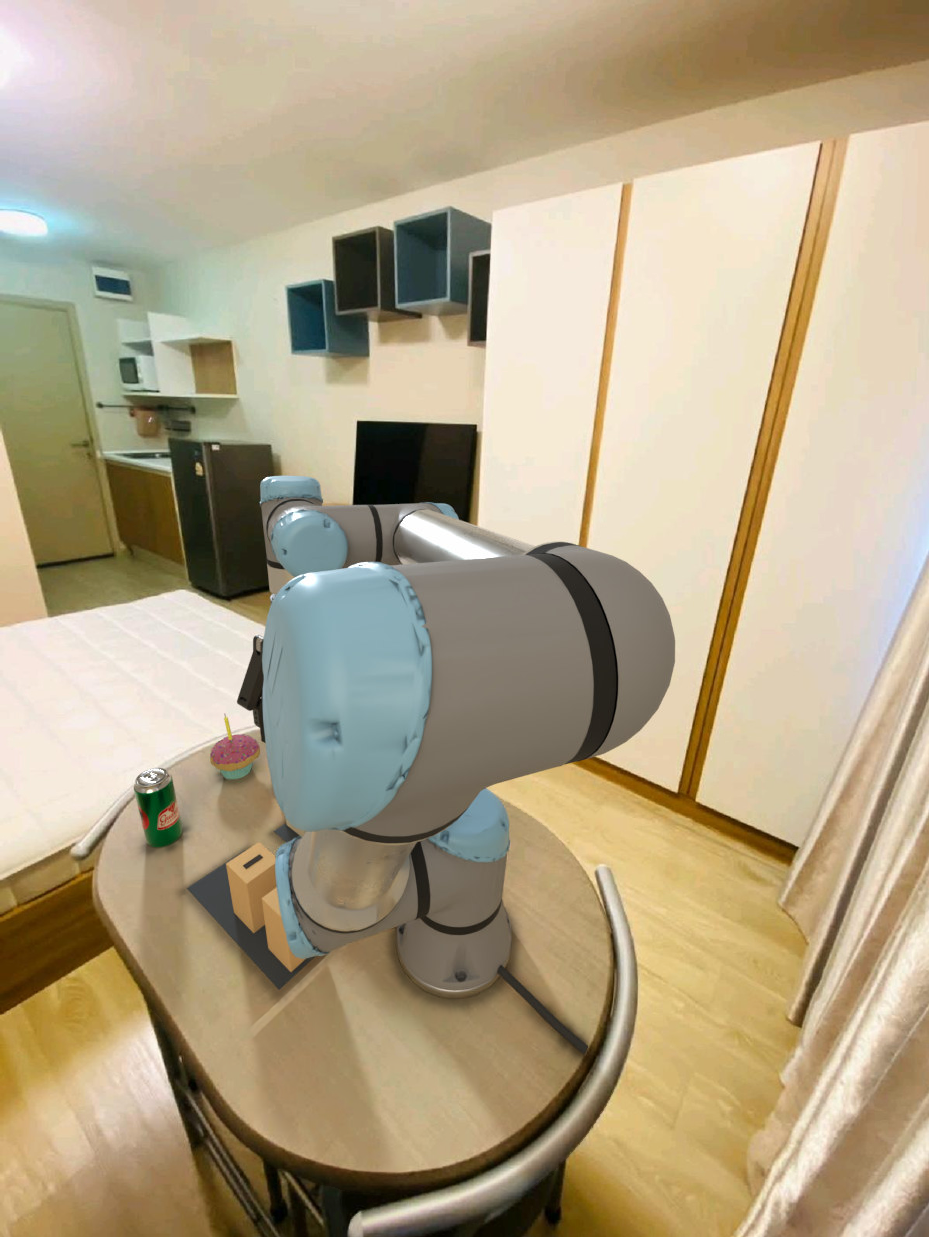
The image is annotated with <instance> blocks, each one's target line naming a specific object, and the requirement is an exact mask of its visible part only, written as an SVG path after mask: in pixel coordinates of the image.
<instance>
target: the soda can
mask: <svg viewBox="0 0 929 1237" xmlns="http://www.w3.org/2000/svg"><path fill="white" fill-rule="evenodd" d="M133 792H134V796H135V801H136V805H137V808H138V812H139V818H140V821H141V826H142V829H143V834H144V838H145V842H146V844H147V845H148V846H149V847H152V848H157V849H159V848H165V847H169V846H170V845H172V844H174V843H175V842H176V841H177V840H179V838H180V837H181V836H182V833H183V824H182V819H181V814H180V810H179V805H178V799H177V795H176V789H175V785H174V780H173V776H172V774H171V773H170V772H169V771H168V769H166V768H164V767H153V768H149V769H147V770H144V771H142V772H141V773H139V774H138V775H137V776H136V778H135V780H134V785H133Z"/></svg>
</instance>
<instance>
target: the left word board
mask: <svg viewBox="0 0 929 1237" xmlns="http://www.w3.org/2000/svg"><path fill="white" fill-rule="evenodd" d="M275 860H276V854H274V853H272V852H271V851H270V850H269V849H268V848H267V847H266V846H264V845H263V844H262V843H261V841H258V842H257V843H255V844H253V845H252V846H250V847H249V848H247V849H246V850H245V849H244V850H243V851H241V852H240V853H238V854H236V855H235V856H233V857H232V858H230V859H229V860H227V861H226V862H224V863H223V864H221V865H220V866H218V867H217V868H215V869H214V870H212V871H211V872H209V873H208V874H206V875H205V876H203V877H201V878H200V879H199V880H197V881H195V882H194V883H192V884H191V885H189V886H188V887H186V888H187V891H189V892H190V894H192V896H193V897H194V898H195V899H196V900H197V901H198V902H199V904H200V905H201V906H202V907H203V908H204V909H205V910H206V911H207V912H208V913H209V915H210V916H211V917H212V918H213V919H214V920H215V921H216V922H217V924H219V926H221V928H222V929H223V930H224V932H226V933H227V935H228V936H229V937H230V938H231V939H232V940H233V942H235V943H236V945H238V946H239V948H240V949H241V950H242V951H243V952H244V953H245V955H246V956H247V957H248V958H249V959H250V960H251V961H252V962H253V963H254V965H256V966H257V968H258V969H259V970H260V971H261V972H262V973H263V974H264V975H265V976H266V978H267V979H268V980H269V981H270V982H271V983H272V984H273V986H274V987H276V989H277V990H278V991H280V990H281V989H282V988H283V987H284V986H285V985H287V984H288V982H290V981H291V980H292V979H293V978H294V977H295V976H296V975H297V974H298V973H300V972H301V970H302V969H304V968H305V967H306V966H307V965H308V964H309V963H310V962H312V960H313V959H315V958H316V956H313V957H310V958H306V959H300V958H297V957H295V956H294V955H293V954H292V952H291V950H290V948H289V946H288V943H287V938H286V932H285V930H284V927H283V923H282V918H281V913H280V907H279V901H278V894H277V886H276V875H275Z"/></svg>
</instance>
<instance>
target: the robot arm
mask: <svg viewBox="0 0 929 1237" xmlns="http://www.w3.org/2000/svg"><path fill="white" fill-rule="evenodd" d="M321 488H322V487H321V484H320V481H318V479H316V478H314V477H310V476H303V475H302V476H301V475H274V476H267V477H265V478H264V479H262V480H261V481H260V485H259V489H260V490H259V491H260V492H259V493H260V500H259V507H260V509H261V517H262V526H263V536H264V537H263V538H264V544H265V553H266V567H267V574H268V576H267V578H268V586H269V587H268V588H269V592H270V593H271V595H270V596H269V600H270V606H269V610H268V612H267V617H266V622H265V627H264V634H263V635H264V636H262V635H260V634H255V635H254V636H253V638H252V653H251V656H250V659H249V662H248V666H247V669H246V672H245V674H244V678H243V680H242V684H241V687H240V691H239V693H238V697H237V699H236V703H237V705H239V706H240V707H242V708H244V709H245V710H247V711H249V712H252V716H253V723H254V726H256V727H257V728H259V732H260V740H261V742H263V743H264V744H265V751H266V759H267V765H268V770H269V775H270V781H271V786H272V789H273V793H274V797H275V800H276V803H277V805H278V807H279V809H280V811H281V812H282V813H283V815H284V819H285V821H286V820H287V821H288V822H289V823H290V824H291V825H292V826H294V827H295V828H297V829H299V830H303V831H306V832H305V834H304V835H303V836H300V837H297V838H294V839H293V840H291V841H289V842H284V843H281V845H279V847H278V848H277V849H276V852H275V856H276V860H275V875H276V886H277V894H278V901H279V907H280V913H281V918H282V923H283V927H284V930H285V932H286V938H287V943H288V946H289V948H290V950H291V952H292V954H293V955H294V956H295V957H297V958H300V959H306V958H310V957H313V956H315V957H322V956H326V955H328V954H329V953H330V952H332V951H334V950H337V949H340V948H342V947H345V946H348V945H350V944H353V943H355V942H359V941H361V940H364V939H366V938H370V937H372V936H375V935H377V934H380V933H383V932H385V931H388V930H390V929H393V928H396V934H395V938H396V939H395V945H396V946H395V947H396V953H397V957H398V961H399V963H400V966H401V967H402V969H403V971H404V972H405V974H406V975H407V977H408V978H409V979H410V980H411V982H412V983H414V984H415V985H416V986H417V987H418V988H420V989H422V990H423V991H425V992H427V993H429V994H431V995H434V996H436V997H439V998H446V999H464V998H469V997H473V996H476V995H479V994H480V993H483V992H484V991H486V990H488V988H490V987H492V986H493V985H494V984H495V983H496V982H497V981H498V980H499V978H500V977H501V978H502V979H503V980H504V981H505V982H506V983H507V984H508V985H509V986H510V987H511V988H512V989H513V990H514V991H516V993H518V995H519V996H520V997H521V998H522V999H523V1000H524V1001H525V1002H527V1003H528V1004H529V1005H530V1007H531V1008H532V1009H533V1010H534V1011H536V1013H537V1014H538V1015H540V1017H541V1018H542V1019H543V1020H544V1021H545V1022H546V1023H547V1024H548V1025H549V1026H550V1027H551V1028H552V1029H553V1030H554V1031H556V1033H558V1034H559V1035H560V1036H561V1037H562V1038H563V1039H564V1040H566V1042H568V1043H569V1044H570V1045H571V1046H573V1047H574V1048H575V1049H576V1050H577V1051H579V1052H580V1053H581V1054H582V1055H583V1056H585V1055H586V1053H587V1051H588V1048H589V1045H588V1044H587V1043H586V1042H584V1041H583V1040H582V1039H581V1038H580V1037H579V1036H578V1035H576V1034H575V1033H574V1032H573V1031H571V1030H570V1029H569V1028H568V1027H567V1026H566V1025H564V1024H563V1022H562V1021H560V1020H559V1019H558V1018H557V1017H556V1016H555V1015H554V1014H553V1013H552V1012H550V1010H549V1009H548V1008H546V1006H544V1005H543V1003H541V1001H539V999H537V997H536V996H534V995H533V994H532V993H531V992H530V991H529V990H528V988H526V987H525V985H523V984H522V983H521V982H520V981H519V980H518V979H517V978H516V977H515V976H514V975H513V974H512V973H511V972H510V971H509V970H507V966H508V962H509V960H510V957H511V951H512V941H513V938H512V937H513V935H512V926H511V925H512V924H511V921H510V917H509V914H508V912H507V910H506V908H505V905H504V899H503V894H504V886H505V879H506V869H507V859H508V852H509V849H510V846H511V839H510V818H509V814H508V811H507V808H506V807H505V805H504V803H503V802H502V800H501V799H500V798H499V797H498V796H497V795H496V794H495V793H494V792H493V791H491V790H490V789H488V788H489V787H492V786H494V785H497V784H500V783H504V782H508V781H512V780H515V779H518V778H522V777H525V776H529V775H533V774H537V773H540V772H545V771H548V770H551V769H554V768H559V767H562V766H564V765H568V764H569V765H570V764H573V763H577V762H582V761H585V760H588V759H591V758H592V759H593V758H595V757H599V756H602V755H604V754H607V753H609V752H610V751H612V750H615V749H617V748H618V747H620V746H621V745H623V744H625V743H627V742H628V741H630V739H631V738H633V737H634V736H635V735H637V734H638V733H639V732H641V730H642V729H643V728H644V727H645V726H646V725H647V724H648V723H649V721H650V720H651V719H652V718H653V716H654V715H655V714H656V712H658V710H659V708H660V706H661V704H662V702H663V700H664V698H665V696H666V694H667V691H668V689H669V688H670V685H671V681H672V677H673V672H674V670H675V669H674V668H675V663H676V636H675V631H674V627H673V623H672V618H671V615H670V612H669V610H668V608H667V605H666V603H665V601H664V598H663V597H662V595H661V594H660V593H659V591H658V590H657V588H656V587H655V586H654V584H653V583H652V582H651V581H650V580H649V579H648V578H647V577H646V575H644V574H643V573H642V572H641V571H640V570H638V569H637V568H636V567H634V566H633V565H631V564H630V563H628V562H627V561H625V560H624V559H621V558H619V557H617V556H615V555H612V554H608V553H605V552H602V551H598V550H595V549H592V548H589V547H585V546H583V545H582V546H581V545H579V544H575V543H573V542H568V541H558V540H557V541H548V542H543V543H541V544H538V545H533V544H530V543H528V542H525V541H522V540H519V539H516V538H514V537H511V536H508V535H504V534H502V533H499V532H495V531H492V530H490V529H487V528H485V527H481V526H479V525H476V524H473V523H470V522H467V521H464V520H462V519H459V516H458V513H456V512H455V509H454V507H452V506H451V505H450V504H447V503H443V502H442V503H441V502H440V503H438V502H437V503H436V502H435V503H434V502H431V501H430V502H429V501H421V502H419V503H417V502H416V503H399V504H398V503H395V504H393V503H392V504H347V505H343V504H341V505H339V504H338V505H323V504H324V498H323V497H322V489H321Z"/></svg>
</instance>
